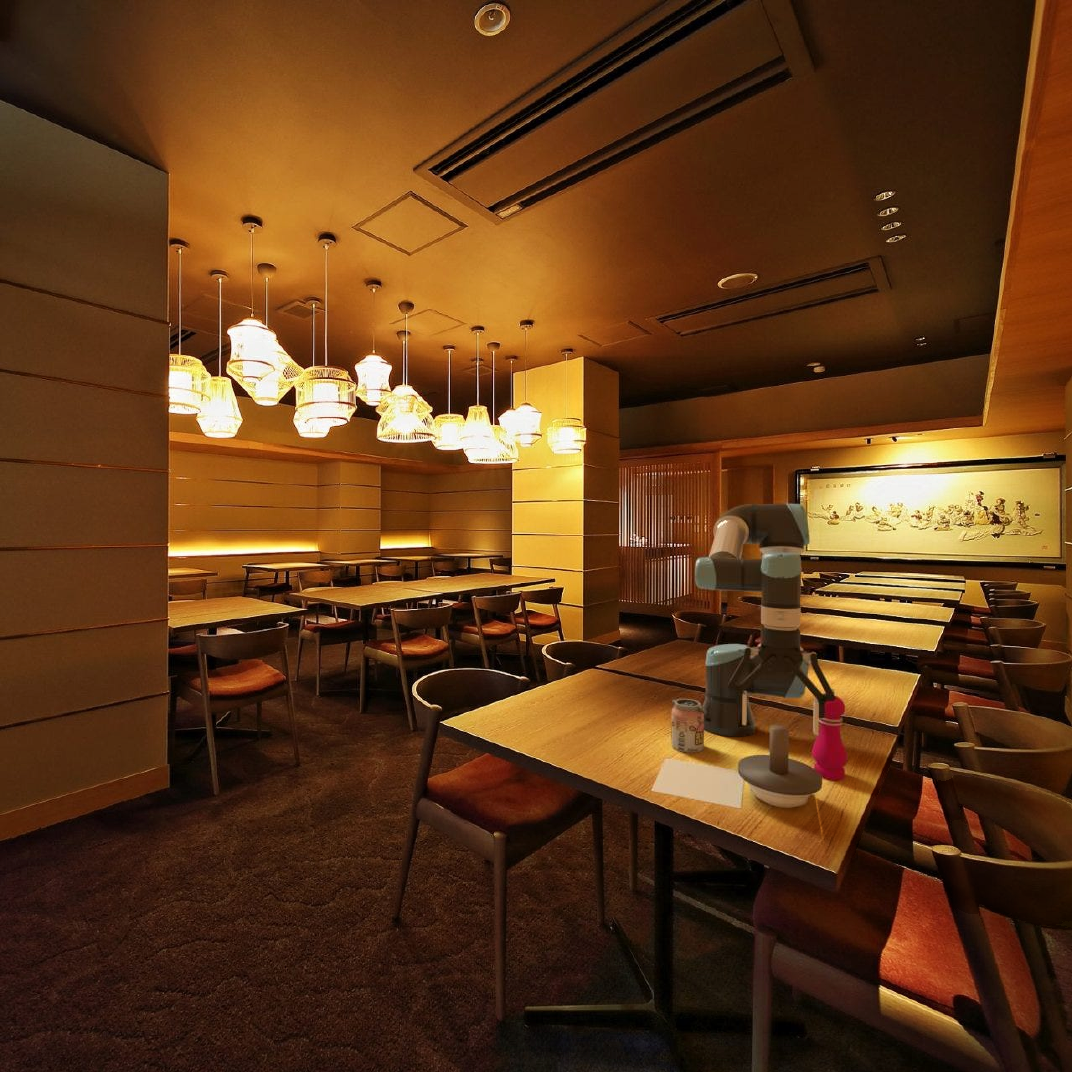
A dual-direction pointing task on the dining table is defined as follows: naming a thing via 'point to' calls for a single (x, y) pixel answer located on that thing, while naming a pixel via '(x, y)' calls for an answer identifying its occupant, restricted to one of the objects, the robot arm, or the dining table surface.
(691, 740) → the beverage can
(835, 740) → the pepper mill
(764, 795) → the bowl
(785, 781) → the lid
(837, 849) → the dining table surface
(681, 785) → the mat
